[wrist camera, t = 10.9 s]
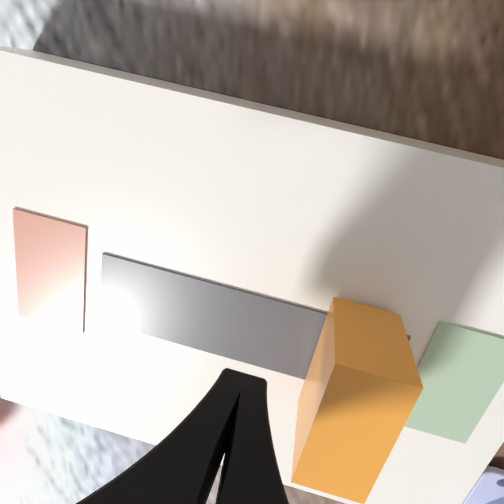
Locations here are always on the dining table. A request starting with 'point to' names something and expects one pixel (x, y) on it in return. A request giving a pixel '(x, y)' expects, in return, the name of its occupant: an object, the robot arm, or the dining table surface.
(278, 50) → the dining table surface
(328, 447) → the handle
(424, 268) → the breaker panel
